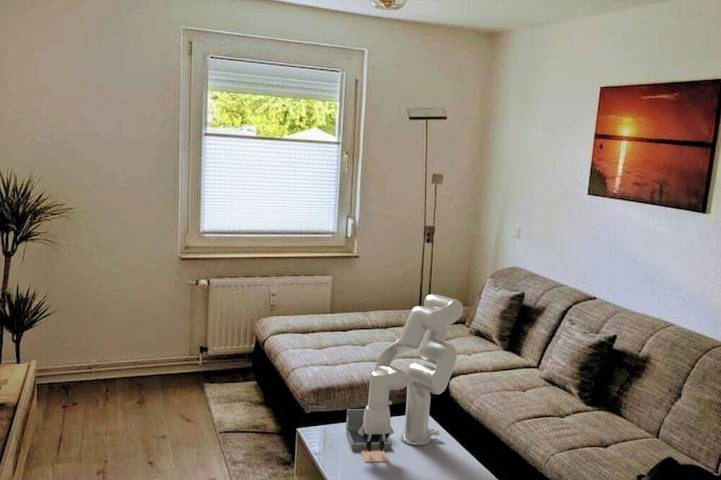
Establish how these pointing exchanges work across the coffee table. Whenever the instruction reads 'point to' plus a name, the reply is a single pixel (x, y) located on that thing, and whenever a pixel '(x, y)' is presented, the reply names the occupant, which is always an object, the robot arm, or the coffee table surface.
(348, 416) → the case
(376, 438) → the tape measure
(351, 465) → the coffee table surface
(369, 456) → the mat
